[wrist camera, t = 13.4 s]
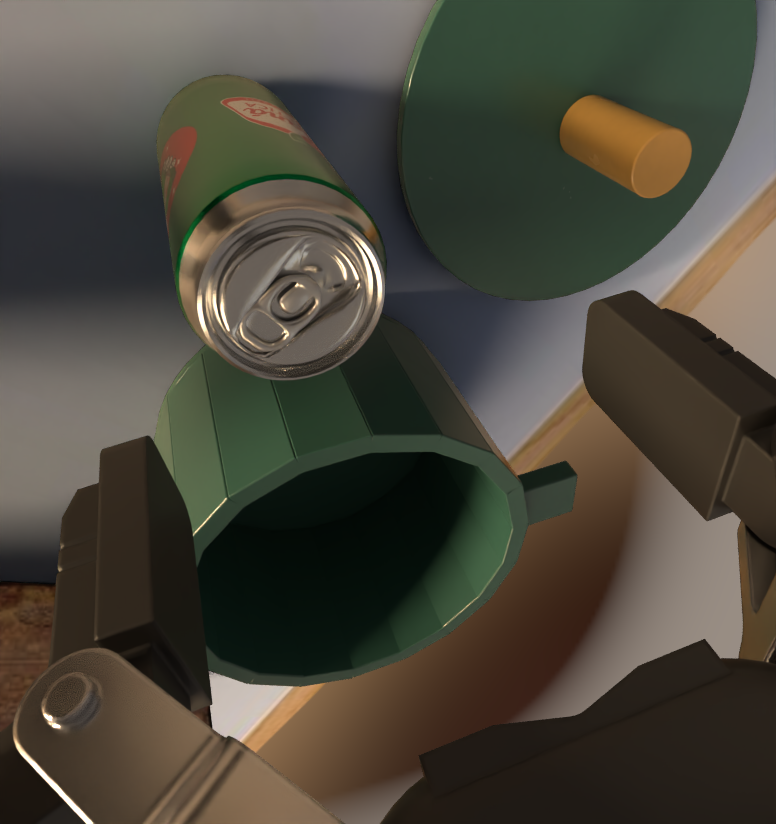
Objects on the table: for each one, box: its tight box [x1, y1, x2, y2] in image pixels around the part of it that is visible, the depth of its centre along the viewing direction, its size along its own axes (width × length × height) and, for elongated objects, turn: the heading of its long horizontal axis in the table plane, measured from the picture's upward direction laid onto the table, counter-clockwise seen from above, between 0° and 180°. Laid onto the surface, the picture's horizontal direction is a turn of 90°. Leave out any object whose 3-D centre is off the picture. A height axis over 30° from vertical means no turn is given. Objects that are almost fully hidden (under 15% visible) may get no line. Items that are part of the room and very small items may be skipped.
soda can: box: [156, 75, 387, 380], centre depth 19 cm, size 5×5×12 cm
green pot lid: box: [397, 0, 757, 301], centre depth 24 cm, size 16×16×6 cm
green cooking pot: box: [154, 313, 577, 687], centre depth 29 cm, size 15×20×10 cm
